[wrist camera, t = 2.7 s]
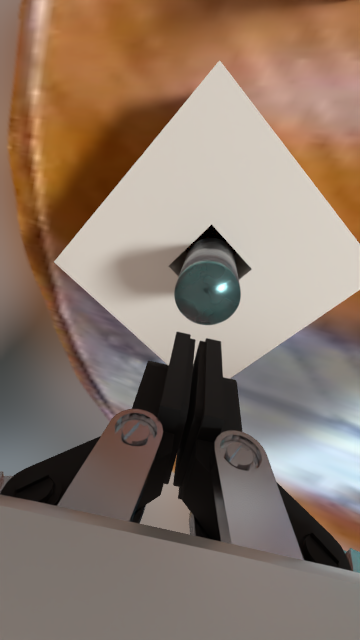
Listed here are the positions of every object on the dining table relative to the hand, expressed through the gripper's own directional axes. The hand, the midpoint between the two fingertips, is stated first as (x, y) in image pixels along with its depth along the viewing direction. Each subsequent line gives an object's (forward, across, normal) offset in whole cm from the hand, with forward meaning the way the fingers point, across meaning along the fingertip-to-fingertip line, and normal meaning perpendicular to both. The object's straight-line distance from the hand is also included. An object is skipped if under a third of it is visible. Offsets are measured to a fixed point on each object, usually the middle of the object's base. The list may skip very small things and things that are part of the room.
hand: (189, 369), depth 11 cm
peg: (+16, -1, 0) cm, 16 cm away
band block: (+22, -1, 0) cm, 22 cm away
